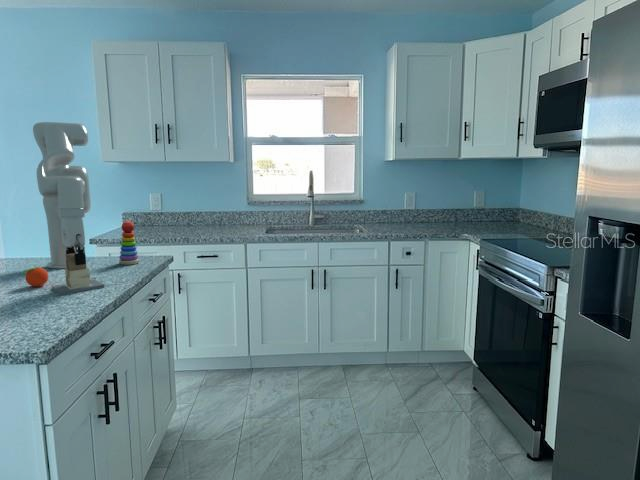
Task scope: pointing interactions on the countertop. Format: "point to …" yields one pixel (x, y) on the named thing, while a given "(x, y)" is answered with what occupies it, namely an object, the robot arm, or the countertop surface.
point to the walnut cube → (73, 263)
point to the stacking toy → (128, 245)
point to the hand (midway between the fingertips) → (76, 262)
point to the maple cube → (77, 278)
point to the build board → (67, 290)
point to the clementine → (36, 276)
